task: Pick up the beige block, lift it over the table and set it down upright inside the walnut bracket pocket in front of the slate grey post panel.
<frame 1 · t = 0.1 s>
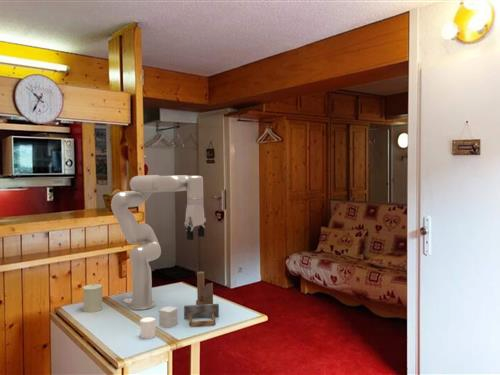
hand: (195, 238, 196), 37 cm above the table, tool pointing down, fingers open, 9 cm apart
wooden block: (204, 309, 206), on the table
post bracket: (202, 321, 189), on the table
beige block: (168, 325, 186), on the table
can: (93, 309, 208), on the table
pale pink cylinder: (148, 336, 174), on the table
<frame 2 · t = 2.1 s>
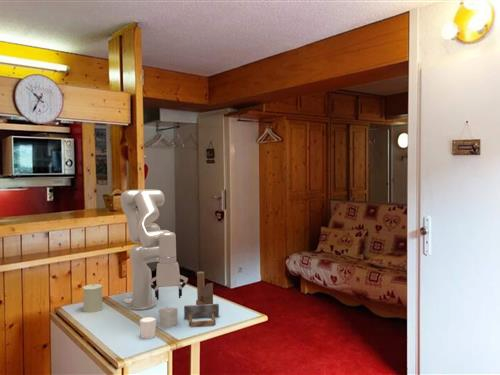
hand: (168, 298, 185), 12 cm above the table, tool pointing down, fingers open, 9 cm apart
nothing on the table moved.
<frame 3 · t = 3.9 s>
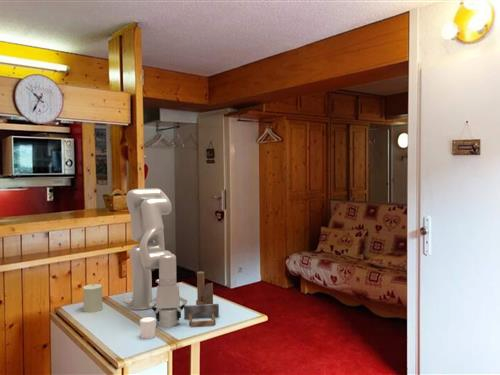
hand: (168, 320, 186), 2 cm above the table, tool pointing down, fingers closed on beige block, 8 cm apart
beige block: (168, 325, 186), on the table, touching gripper
everything else where it was.
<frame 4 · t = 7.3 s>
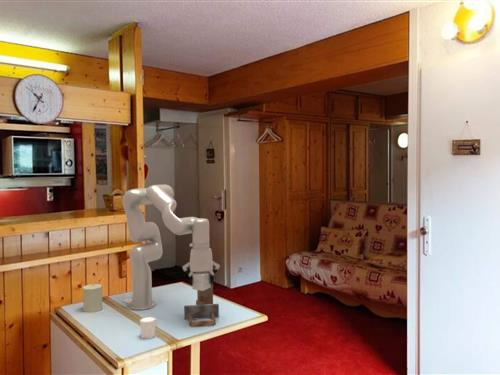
hand: (201, 283, 189), 18 cm above the table, tool pointing down, fingers closed on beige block, 8 cm apart
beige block: (201, 288, 189), point 15 cm above the table, touching gripper
everything else where it was.
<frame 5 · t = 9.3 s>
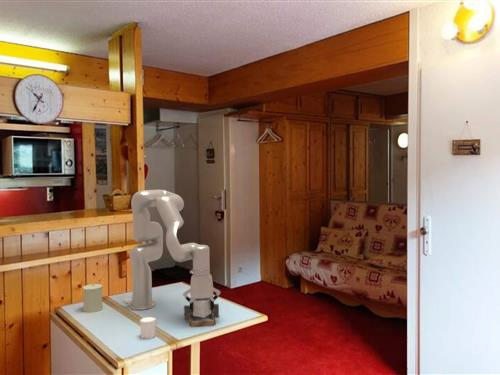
hand: (202, 310, 189), 5 cm above the table, tool pointing down, fingers closed on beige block, 8 cm apart
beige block: (202, 315, 189), point 3 cm above the table, touching gripper
everything else where it was.
when the fingers open (3 cm above the table, at t = 10.9 s): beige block drops 1 cm, resting in post bracket.
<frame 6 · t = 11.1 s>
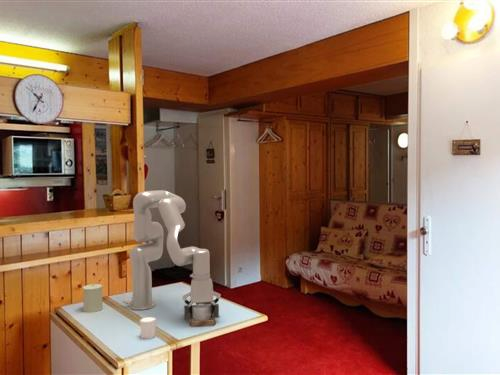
hand: (201, 313, 189), 4 cm above the table, tool pointing down, fingers open, 9 cm apart
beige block: (201, 322, 189), resting in post bracket
everything else where it was.
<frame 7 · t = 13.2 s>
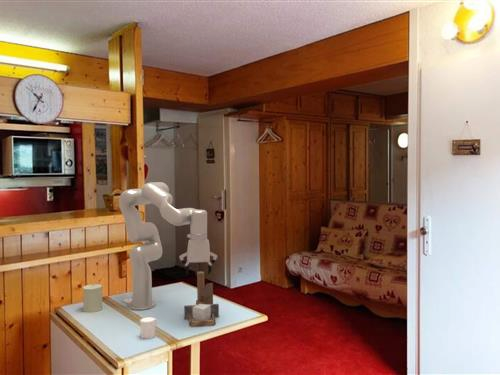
hand: (198, 273, 190), 22 cm above the table, tool pointing down, fingers open, 9 cm apart
nothing on the table moved.
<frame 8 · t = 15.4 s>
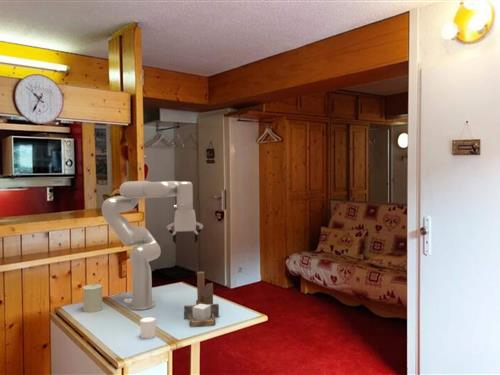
hand: (185, 242, 200), 34 cm above the table, tool pointing down, fingers open, 9 cm apart
nothing on the table moved.
at the end: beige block 0.1 cm off-centre on the post bracket, point 0.0 cm above the post bracket's base; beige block tilted 0°; the gripper is holding nothing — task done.
